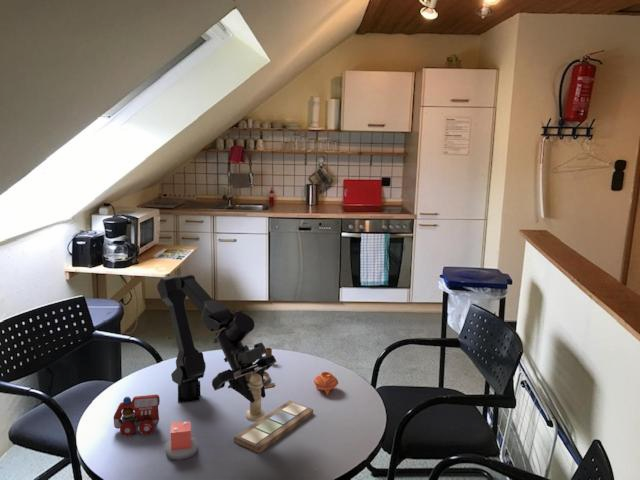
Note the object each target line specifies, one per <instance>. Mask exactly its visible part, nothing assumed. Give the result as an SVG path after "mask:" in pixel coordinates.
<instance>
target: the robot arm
mask: <svg viewBox="0 0 640 480" xmlns="http://www.w3.org/2000/svg"><path fill="white" fill-rule="evenodd" d="M156 288H157V291H158V293H159V297H160V298H161V299H160V300H161V301H162V302H163V303H164V304H165V305H166V306H167V307H168V310H169V314H170V319H171V323H172V327H173V328H172V329H173V331H174V337H175V341H176V345H177V350H178V353H177V356H176V359H175V366H176V367H175V370H174V371H173V372H172V373H171V375H170V376H171V380H172V382H174V383H175V384H177V403H178V404H179V403H180V404H181V403H188V402H190V403H191V402H199V401H200V397H201V380H199V379H202V378H204V376H205V371H206V367H207V366H206V362H205V357H204V353H203V352H202V351H199V350H198V349H197V348H196V346H195V343H194V342H195V341H194V339H193V334H192V330H191V326H190V322H189V317H188V314H187V309H186V308H187V307H186V305H185V302H186V298H188V300H190V302H191V303H192V304H193V305H194V306H195V308H196V309H198V311H199V312H200V313H201V321H202V323H203V325H204V326H205V327H206V329H207V330H208V331H209V332H216V333H215V334H214V335H215V336H214V338H213V339H214V340H213V343H214V344H217V343H218V344H219V347H220V348H221V350H222V352H223V354H224V358H223V361H224V363H228V365H229V366H230V368H231V369H230V368H229V369H226V370H223V371H222V372H219V373H217V375H216V376H215V377H214V378H213V379H212V380H211V385H212V388H213V390H214V391H217V390H220V389H222V388H225V386H226V383H227V382H228V383H229V385H228V386H227V388H228V389H232V390H234V391H236V392H237V393H238V394H240V395H241V396H242V397H244V398H245V399H246V400H247V401H249V403H250V402H251V403H253V402H254V401H255V400H254V398H253V395H252V393H251V391H250V388H249V387H248V385H247V384H248V383H247V381H246V377H245V375H246V374H248V373H251V375H252V374H259V375H260V376H261V377H262V382H263V387H262V388H261V399H262V398H263V399H265V398H266V391H265V389H266V388H265V385H264V376H263V375H264V371H265V372H267V371H268V370H269V369H271V368H272V367H273V366H274V365H275V364H276V363H277V359H276V358H275V356H274V355H273V354H272V355H271V354H269V355H265V353H266V346H265V345H264V344H263V342H258V343H256V344H253V348H249V346H248V345H244V344H243V342H242V341H244V340H245V338H247V337H248V335H250V333H251V332H252V331H253V330H254V328H255V321H254V320H253V318H252V317H251V316H250V315H248V314H246V313H243V311H242V310H236V311H234V312H233V311H232V310H230V308H229V307H228V306H227V305H225V304H223V303H222V302H218V301H215V300H214V299H213V298H212V297H211V295H209V293H208V292H207V291H206V290H205V289H204V288H203V287H202V286H201V284H200V283H198V281H197V280H196V277H195V276H194V274H191V273H188V274H182V275H174V276H168V277H163V278H160V280H159V282H158V283H157V286H156ZM220 330H221V331H220ZM217 331H220V332H217ZM263 355H265V356H263ZM241 372H242V373H241ZM243 375H244V376H243Z"/></svg>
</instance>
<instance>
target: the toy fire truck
mask: <svg viewBox="0 0 640 480" xmlns="http://www.w3.org/2000/svg"><path fill="white" fill-rule="evenodd" d="M160 402H161V400H160V395H158V394H148V395H139V396H134V397H133V398H132V399H131V397H130V396H125V397H124V398H123V401H122V402H120V403H119V405H118V407H117V408H116V411H115V413H114V415H113V425H114V426H113V427H114V428H115V429H119V431H120V434H121V435H122V436H124V437H131V436H133V434H134V433H135V431H136V427H138V431H139V433H140V434H142V435H144V436H149V435H151V434H152V433H153V432H154V430H155V425H157V424H159V423H160V417H159V415H160V414H159V406H160Z"/></svg>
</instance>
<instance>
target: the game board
mask: <svg viewBox="0 0 640 480" xmlns="http://www.w3.org/2000/svg"><path fill="white" fill-rule="evenodd" d="M313 414H314V409H313V408H310V407H307V406H305V405H303V404H300V403H297V402H295V401H292V400H288V401H287V402H285V403H283V404H282V405H280V406H279V407H277V408H276V409H274V410H273V411H271V412H270V413H268V414H266V415H265V418H264V419H263V420H261V421H258V422H253V424H251V425H250V426H248V427H247V428H245V429H244V430H242V431H241V432H239V433H237V434H236V435H234V436H233V442H234V443H236V444H238V445H241V446H243V447H244V448H247V449H249V450H251V451H253V452H256V453H258V454H260V453H262V452H263V451H264V450H266V449H267V448H268V447H270V446H271V445H272V444H274V443H276V442H277V441H278V440H279V439H281V438H282V437H284V436H285V435H286V434H287V433H289V432H290V431H292V430H293V429H294V428H296V427H297V426H299V425H300V424H301V423H303V422H304V421H306V420H308V418H310V417H311V416H312V415H313Z"/></svg>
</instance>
